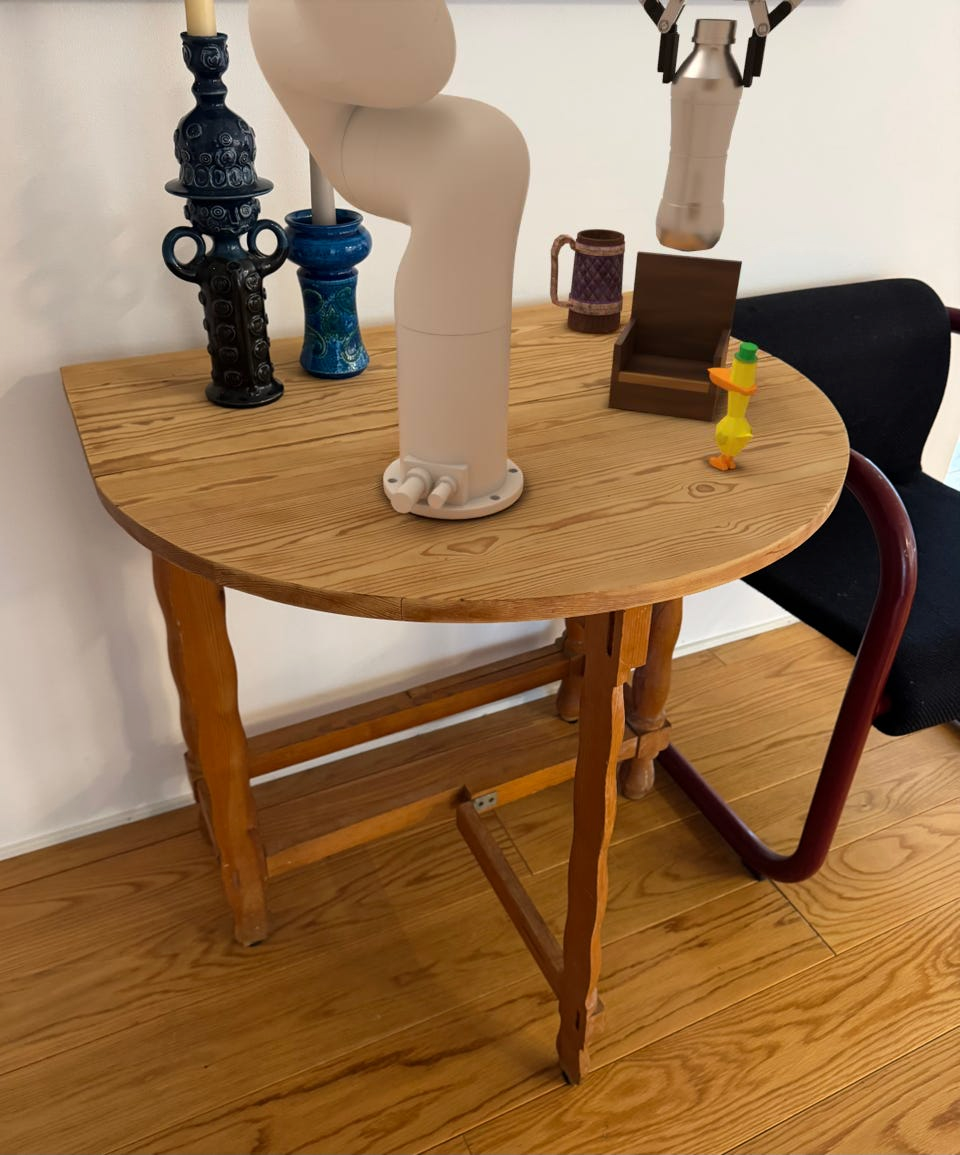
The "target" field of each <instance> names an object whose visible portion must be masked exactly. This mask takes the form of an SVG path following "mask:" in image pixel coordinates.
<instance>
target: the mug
mask: <svg viewBox="0 0 960 1155" xmlns="http://www.w3.org/2000/svg"><path fill="white" fill-rule="evenodd" d="M576 233H577V234H576V238H574V237H572V236H571V235H569V234H567V233H566V234H559V235H558V236H557V237H555V238H554V239H553V242H552V245H551V248H550V282H549V296H550V299H551V303H552V304H553V305H555V306H557V307H559V308H563V309H568V312H567V322H566V324H567V326H568V327H570V329H571V330H574V331H575V332H579V333H583V334H590V335H604V334H610V333H613V332H616V331H617V330H619V328H620V327H621V315H622V311H623V304H624V303H623V302H624V295H623V278H624V263H625V261H624V260H625V253H626V240H625V234H624V233H622V232H620V231H616V230H612V229H605V228H604V229H603V228H592V229H591V228H589V229H583V230H579V231H578V232H576ZM567 244H569V248H570V250H571V251H573V252H574V256H573V265H572V266H573V267H572V274H571V275H572V276H571V285H570V292H568V301H567V300H559V296H558V287H559V254H560V252H561V249H562V248H563V247H564V246H565V245H567Z"/></svg>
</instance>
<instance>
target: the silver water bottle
mask: <svg viewBox="0 0 960 1155" xmlns="http://www.w3.org/2000/svg"><path fill="white" fill-rule="evenodd" d="M737 29H738V20H737V19H727V18H695V21H694V26H693V32H692V33H693V35H692V36H691V39H690V41H691V43H693V47H692V50H691V52H690V53H689V54H688V55H687V57H686V58H685V59H684V60H683V62H682V63H681V64H680V66H679V67H678V69H676V72H675V75H674V78H673V80H672V82H670V83H671V84H670V94H669V95H670V140H669V147H670V150H669V151H668V152H669V153H668V154H669V155H668V165H667V170H666V176H665V181H664V184H663V185H664V186H663V191H662V198H661V199H660V201H659V204H658V207H657V212H656V216H655V220H654V221H655V236H656V239H657V240H658V243H659V244H660V245H661V246H663V247H665V248H668V249H672V250H676V251H680V252H684V253H693V252H700V251H701V252H702V251H707V250H711V249H713V248H714V247H715V246H716V245H717V244H718V243H719V241H720V240H721V237H722V233H723V230H724V227H725V203H724V198H725V197H724V196H725V181H726V180H725V179H726V166H727V160H728V150H729V149H730V145H731V140H732V134H733V130H734V125H735V122H736V119H737V115H738V111H739V108H740V104H741V102H740V101H741V99H742V96H743V91H744V86H742V79H743V74H742V73H741V70H740V67H739V65H738V63H737V61H736V59H735V56H734V55H733V53H732V45H735V44H737V37H736V35H737Z"/></svg>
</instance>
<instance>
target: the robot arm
mask: <svg viewBox="0 0 960 1155" xmlns="http://www.w3.org/2000/svg"><path fill="white" fill-rule="evenodd" d="M734 1H737V2H739V1H740V2H745V1H746V2H748V6H749V12H750V15H751V18H752V22H753V25H754V26H753V28H752V31H751V36H749V37H748V38H747V39H748V40H747V45H746V52H745V60H744V67H743V72H742V86H743V88H744V89H745V88H748V89H749V88H751V87H752V85H753V80H754V78H760V77H761V75H762V69H763V63H764V57H765V50H766V45H767V38H768V35H769V34H770V33H771V32H772V31H773V30H774V29H776V27H778V26H779V25H780V24H781V23H782V22H783V21H784V20H785V19H786V18H787V17H788V16H789V15H791V13H792V12H793V11H794V10H796V9H797V8H798V6H800V5H801V4H802V2H804V0H781V2H780V3H778V4H777V6H775V7H774V9H772V10H771V11H769V8H768V4H767V0H734ZM638 2H639V3H640V4H641V6H642V8H643V10H644V11H645V13H646V14H647V16H648V17H649V18H650V20H651V22H653V24H654V25H655V26H656V28H657V30H658V32H659V33H660V38H659V48H658V56H657V67H656V72H657V73H662V81H661V82H662V85H663V84H666V85H668V84H670V83H672V80H673V78H674V75H675V73H676V71H677V62H678V54H679V45H680V36H681V35H680V33H679V32H678V27H679V26H678V21H679V20H680V18H681V16H682V14H683V12H684V10H685V8H686V6H687V4H688V2H689V0H668V2H667V4H666V6H665V7H664V5H663V3H662V2H661V1H660V0H638ZM247 7H248V8H247V10H248V11H247V20H248V21H247V23H248V32H249V37H250V42H251V46H252V49H253V52H254V57H255V59H256V62H257V64H258V67H259V69H260V71H261V73H262V76H263V77H264V79H265V81H266V83H267V84H268V86H269V88H270V89H271V91H272V93H273V94H274V96H275V99H276V100H277V101H278V103H279V104H280V106H281V108H282V110H283V111H284V113H285V114H286V116H287V118H288V119H289V121H290V122H291V124H292V125H293V127H294V129H295V131H296V132H297V134H298V135H299V137H300V139H301V141H302V142H303V143H304V145H305V147H306V148H307V150H308V151H309V153H310V154H311V156H312V158H313V159H314V161H315V163H316V164H317V166H318V167H319V169H320V171H321V172H322V173H323V175H324V177H325V178H326V179H327V181H328V182H329V184H330V185H331V186H332V188H333V189H334V190H335V191H336V192H337V194H339V196H340V197H341V198H342V199H344V201H345V202H347V203H348V204H349V205H351V206H352V207H354V208H356V209H357V210H359V211H362V212H365V213H367V214H370V215H373V216H375V217H378V218H382V219H386V220H388V221H392V222H396V223H399V224H403V225H405V226H407V227H410V235H409V239H408V242H407V245H406V247H405V249H404V252H403V255H402V257H401V260H400V263H399V265H398V267H397V271H396V275H395V281H394V288H393V289H394V290H393V309H394V310H393V311H394V312H393V313H394V329H395V356H396V357H395V359H396V387H397V389H396V390H397V414H398V416H397V418H398V444H399V446H398V447H399V457H397V458H396V459H395V460H394V461H392V462H391V463H390V464H389V465H388V466H387V467H386V469H385V471H384V473H383V478H382V480H383V481H382V482H383V483H382V484H383V491H384V494H385V495H386V497H387V498H388V500H389V501H390V505H391V507H392V509H393V510H395V511H396V512H397V513H401V514H408V513H412V514H414V515H418V516H422V517H426V518H433V519H438V520H467V519H475V518H482V517H486V516H489V515H493V514H496V513H498V512H501V511H503V510H505V509H507V508H508V507H510V506H512V505H513V504H514V503H516V501H517V500H518V499H520V496H522V493H523V490H524V474H523V472H522V469H521V468H520V467H519V466H518V464H517V463H515V462H514V461H512V460H511V459H510V458H509V457H508V443H509V442H508V438H509V409H510V408H509V407H510V404H509V403H510V379H511V378H510V377H511V349H512V313H513V312H512V310H513V290H514V289H513V288H514V270H515V261H516V252H517V245H518V239H519V234H520V230H521V225H522V224H521V223H522V220H523V215H524V211H525V207H526V201H527V198H528V193H529V187H530V180H531V158H530V152H529V148H528V145H527V141H526V139H525V136H524V135H523V133H522V131H521V129H520V128H519V126H518V125H517V124H516V123H515V122H514V121H513V119H512V118H511V117H510V116H508V115H507V114H506V113H505V112H503V111H502V110H500V109H499V108H497V107H495V106H493V105H491V104H488V103H487V102H483V101H481V100H477V99H473V98H469V97H464V96H463V97H462V96H458V95H451V94H444V93H441V92H442V91H443V90H444V89H445V87H446V86H447V85H448V83H449V82H450V79H451V77H452V75H453V72H454V68H455V64H456V60H457V40H456V39H457V38H456V34H455V33H456V32H455V27H454V23H453V20H452V17H451V13H450V11H449V8H448V5H447V3H446V0H248V6H247Z"/></svg>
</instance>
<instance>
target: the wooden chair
mask: <svg viewBox="0 0 960 1155" xmlns="http://www.w3.org/2000/svg"><path fill="white" fill-rule="evenodd" d="M635 260H636V263H635V270H634V272H635V273H634V281H633V290H632V300H631V311H630V318H629V319H628V321H627V322H626V324H625V326H624V328H623V329H622V330H621V332H620V334H619V335H618V337H617V339H616V340H615V342H614V343H613V352H612V360H611V361H612V362H611V373H610V383H609V392H608V404H607V405H608V408H612V409H613V408H614V409H618V410H619V409H621V410H628V411H635V412H641V413H650V414H656V415H664V416H671V417H679V418H685V419H692V420H700V421H708V422H712V421H713V418H714V415H715V411H716V409H717V405H718V401H719V398H720V395H721V391H722V389H723V388H722V387H720V386H718V385H716V384H715V383H713V382H712V381H711V379H710V377H709V375H710V372H709V371H708V369H710V368H726V363H727V358H728V351H729V345H730V339H731V335H732V334H731V333H732V328H733V321H734V315H735V309H736V302H737V297H738V290H739V286H740V285H739V284H740V277H741V272H742V266H743V261H742V260H735V259H723V258H712V257H703V256H694V255H693V256H692V255H682V254H681V255H680V254H672V253H671V254H670V253H662V252H661V253H660V252H650V251H649V252H648V251H641V250H639V251H637V252H636V259H635Z"/></svg>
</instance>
